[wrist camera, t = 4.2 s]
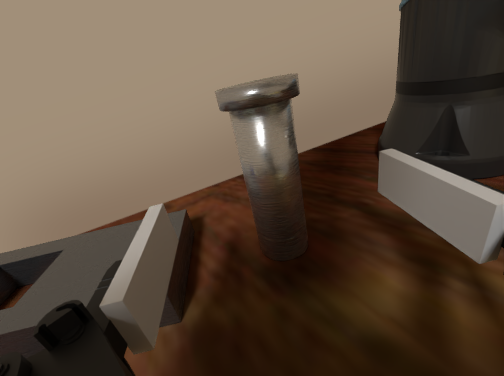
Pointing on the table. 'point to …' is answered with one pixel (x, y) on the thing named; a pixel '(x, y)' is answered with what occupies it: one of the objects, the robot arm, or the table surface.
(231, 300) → the table surface
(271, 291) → the table surface
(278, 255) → the silver metal peg
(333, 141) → the table surface
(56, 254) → the jig
